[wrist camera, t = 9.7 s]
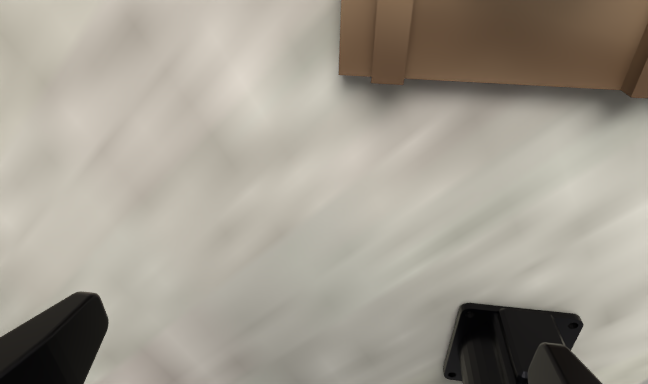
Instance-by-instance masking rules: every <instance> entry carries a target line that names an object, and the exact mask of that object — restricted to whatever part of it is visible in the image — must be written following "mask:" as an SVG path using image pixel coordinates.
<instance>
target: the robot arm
mask: <svg viewBox="0 0 648 384" xmlns="http://www.w3.org/2000/svg"><path fill="white" fill-rule="evenodd" d="M108 323H109V322H108V316H107V314H106V311H105V309H104V306H103V303H102V301H101V298H100V296H99V295H98V294H96V293H90V292H76V293H74V294H72V295H70V296H69V297H67V298H65V299H64V300H62V301H60V302H59V303H57V304H55V305H54V306H52V307H50V308H49V309H47V310H45V311H44V312H42V313H40V314H39V315H37V316H35V317H34V318H32V319H30V320H29V321H27V322H25V323H23V324H22V325H20V326H18V327H17V328H15V329H13V330H12V331H10V332H8V333H7V334H5V335H3V336H2V337H0V384H84V382H85V379H86V377H87V375H88V373H89V370H90V368H91V366H92V364H93V361H94V359H95V357H96V354H97V352H98V350H99V348H100V345H101V343H102V341H103V339H104V336H105V334H106V332H107V329H108ZM582 327H583V323H582V321H581V319H580V317H579V316H578V315H576V314H570V313H561V312H551V311H542V310H532V309H522V308H513V307H503V306H493V305H484V304H474V303H466V304H463V305H462V306H461V307H460V309H459V312H458V316H457V320H456V323H455V327H454V331H453V334H452V338H451V342H450V346H449V349H448V353H447V357H446V360H445V364H444V368H443V371H444V376H445V378H447V379H450V380H457V381H463V384H602V383H601V382H600V381H599V380H598V379H597V377H596V376H595V375H594V374H593V373H592V372H591V371H590V370H589V369H588V368H587V367H586V366H585V365H584V364H583V363H582V362H581V361H580V360H579V359H578V358H577V357H576V356H575V355H574V354H573V353H572V352H571V349H572V347H573V345H574V343H575V341H576V339H577V337H578V335H579V333H580V331H581V329H582Z"/></svg>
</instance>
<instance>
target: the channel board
mask: <svg viewBox="0 0 648 384" xmlns="http://www.w3.org/2000/svg"><path fill="white" fill-rule="evenodd" d="M339 75H349V76H368V77H372V78H371V83H378V84H396V85H403V83H404V78H405V79H424V80H443V81H461V82H480V83H499V84H517V85H536V86H554V87H573V88H592V89H610V90H621V91H623V92H624V93H625V94H627V95H628V96H630V97H632V98H648V0H341V25H340V54H339Z"/></svg>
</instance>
